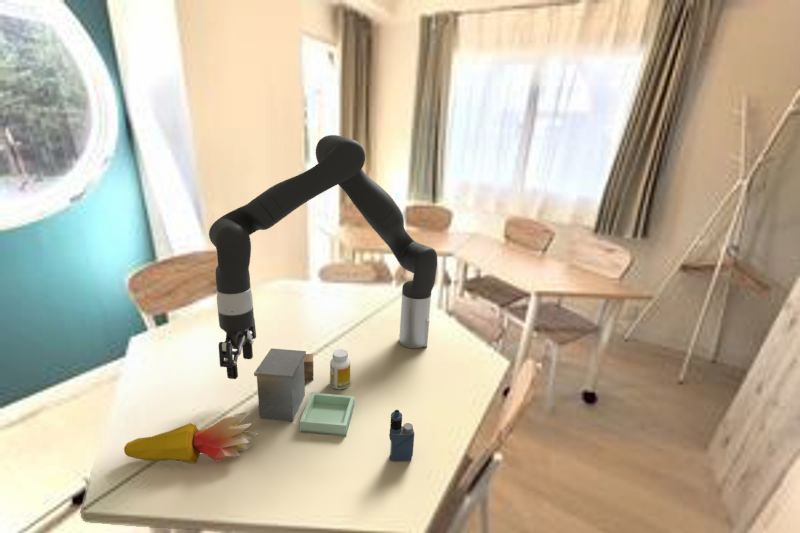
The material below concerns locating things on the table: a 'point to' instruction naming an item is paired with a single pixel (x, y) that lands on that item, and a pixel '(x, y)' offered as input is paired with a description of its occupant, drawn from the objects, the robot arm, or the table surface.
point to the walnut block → (308, 367)
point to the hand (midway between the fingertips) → (240, 367)
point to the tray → (327, 414)
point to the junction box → (281, 384)
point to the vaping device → (400, 438)
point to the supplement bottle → (340, 369)
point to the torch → (194, 442)
